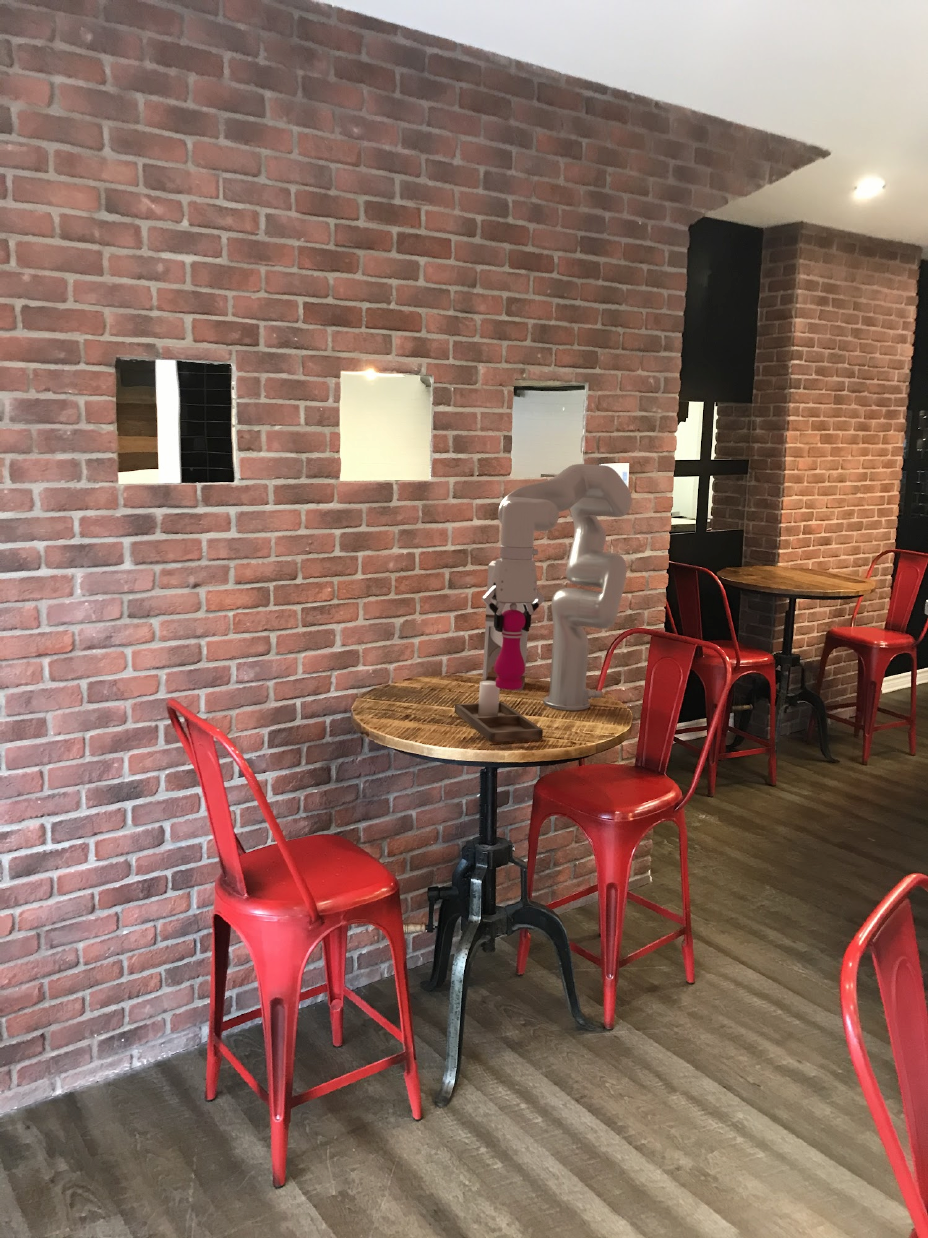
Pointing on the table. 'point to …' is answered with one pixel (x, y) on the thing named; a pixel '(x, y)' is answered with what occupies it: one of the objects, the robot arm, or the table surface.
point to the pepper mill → (511, 651)
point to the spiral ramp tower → (498, 637)
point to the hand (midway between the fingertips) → (511, 630)
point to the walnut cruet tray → (499, 724)
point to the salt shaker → (488, 699)
